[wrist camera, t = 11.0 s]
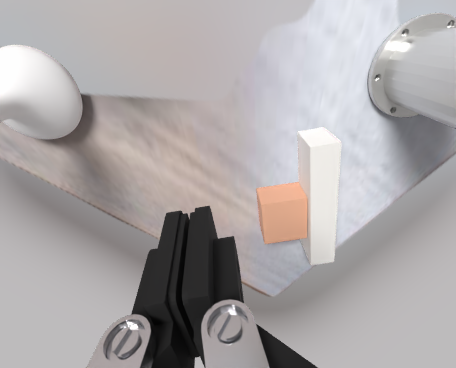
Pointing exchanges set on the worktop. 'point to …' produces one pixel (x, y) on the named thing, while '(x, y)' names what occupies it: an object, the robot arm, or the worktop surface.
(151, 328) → the robot arm
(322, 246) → the board
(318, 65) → the worktop surface
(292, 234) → the peach block
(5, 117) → the flower in vase
